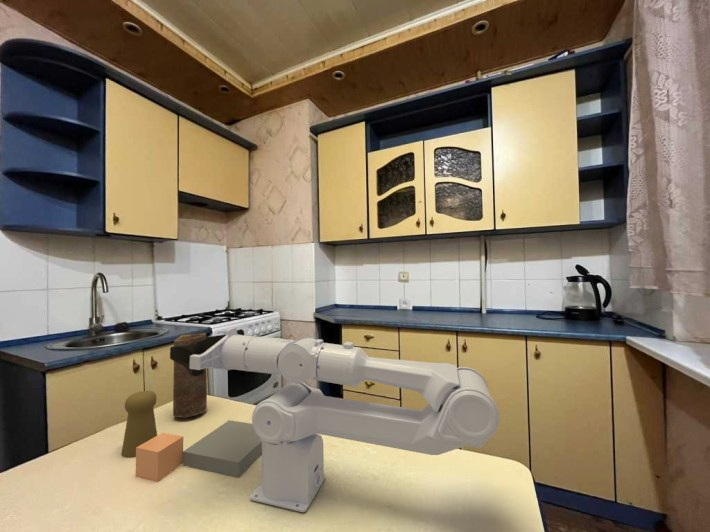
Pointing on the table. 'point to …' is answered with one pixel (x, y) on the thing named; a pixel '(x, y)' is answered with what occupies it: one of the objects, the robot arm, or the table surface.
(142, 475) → the terracotta cube
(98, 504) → the table surface
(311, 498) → the robot arm
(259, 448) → the grey square plate
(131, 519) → the table surface
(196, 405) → the candle
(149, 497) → the table surface
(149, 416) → the cork
